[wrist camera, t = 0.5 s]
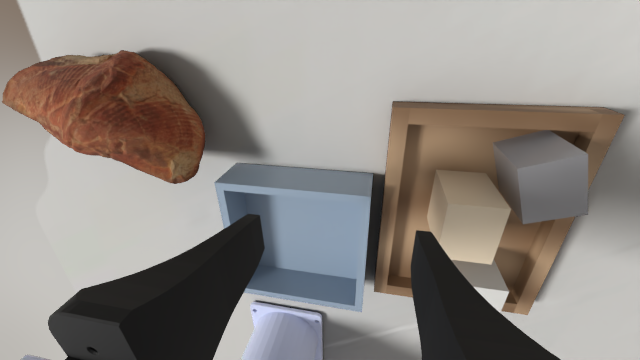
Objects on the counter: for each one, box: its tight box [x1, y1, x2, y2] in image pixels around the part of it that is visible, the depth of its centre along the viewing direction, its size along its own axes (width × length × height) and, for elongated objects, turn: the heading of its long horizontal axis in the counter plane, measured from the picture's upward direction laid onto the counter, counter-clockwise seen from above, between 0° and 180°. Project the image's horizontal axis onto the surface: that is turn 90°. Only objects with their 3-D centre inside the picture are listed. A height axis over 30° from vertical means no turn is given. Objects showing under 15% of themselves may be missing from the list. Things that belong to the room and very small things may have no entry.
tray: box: [374, 101, 624, 315], centre depth 21 cm, size 16×12×2 cm
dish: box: [214, 163, 373, 312], centre depth 24 cm, size 11×11×4 cm
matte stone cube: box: [493, 130, 588, 224], centre depth 17 cm, size 4×3×4 cm
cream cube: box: [427, 170, 511, 265], centre depth 19 cm, size 4×3×4 cm
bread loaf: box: [2, 50, 205, 184], centre depth 20 cm, size 13×8×10 cm
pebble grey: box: [452, 259, 509, 312], centre depth 21 cm, size 4×3×4 cm
